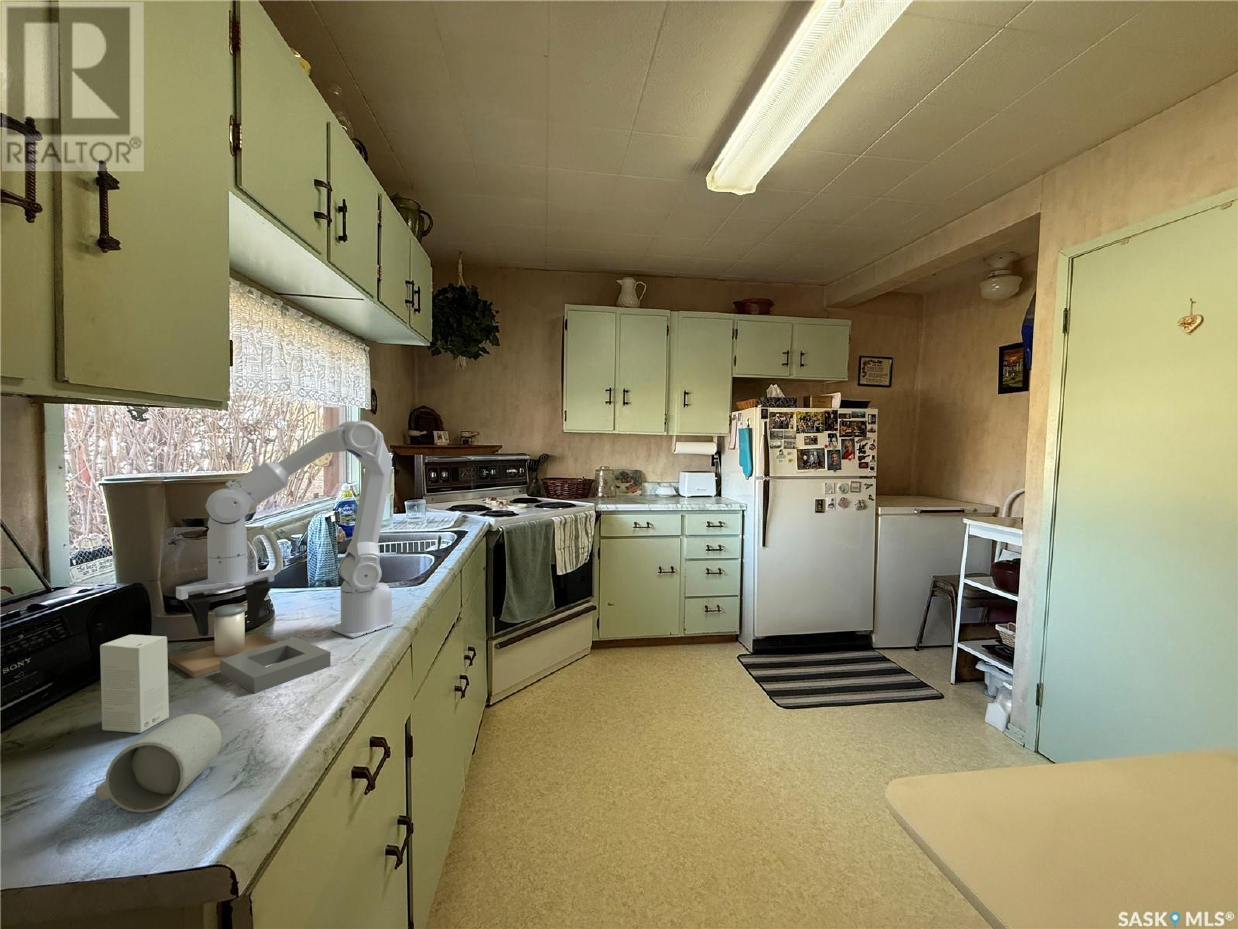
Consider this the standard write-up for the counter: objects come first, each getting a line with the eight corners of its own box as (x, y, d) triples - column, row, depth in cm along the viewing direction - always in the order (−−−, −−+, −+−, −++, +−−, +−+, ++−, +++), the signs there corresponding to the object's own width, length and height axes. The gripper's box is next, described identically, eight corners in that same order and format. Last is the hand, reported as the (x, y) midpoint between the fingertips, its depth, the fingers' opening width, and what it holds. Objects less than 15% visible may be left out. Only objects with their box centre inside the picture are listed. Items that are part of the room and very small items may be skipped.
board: (258, 637, 102) (258, 632, 102) (283, 649, 97) (283, 644, 97) (169, 662, 90) (169, 657, 90) (193, 677, 85) (193, 671, 85)
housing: (295, 649, 97) (294, 637, 97) (330, 665, 91) (330, 652, 91) (220, 673, 87) (220, 659, 86) (254, 693, 80) (254, 678, 80)
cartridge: (238, 643, 97) (237, 602, 96) (250, 649, 94) (250, 606, 94) (209, 652, 93) (208, 609, 92) (221, 658, 90) (220, 614, 90)
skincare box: (170, 717, 73) (169, 636, 73) (139, 734, 69) (138, 648, 68) (132, 714, 74) (130, 633, 73) (99, 731, 70) (97, 645, 69)
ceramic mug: (228, 763, 64) (226, 703, 63) (184, 810, 55) (181, 742, 55) (131, 771, 62) (129, 710, 61) (71, 821, 54) (67, 751, 53)
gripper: (187, 566, 84) (188, 646, 85) (282, 550, 97) (282, 621, 98) (170, 560, 88) (171, 636, 89) (263, 546, 100) (264, 613, 101)
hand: (228, 628), depth 93 cm, fingers open, 7 cm apart
